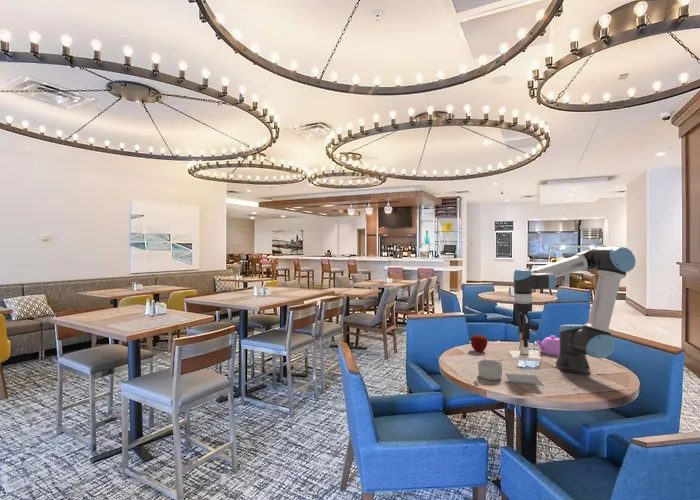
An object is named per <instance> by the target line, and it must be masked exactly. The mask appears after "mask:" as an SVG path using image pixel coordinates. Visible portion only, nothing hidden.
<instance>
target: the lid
mask: <svg viewBox="0 0 700 500" xmlns="http://www.w3.org/2000/svg"><path fill="white" fill-rule="evenodd" d="M521 339H522V332H520V336H519V350H508V351H507V353H508V355H509V356H510V358H511V359H512V360H513V361H523V362H524V361H525V362H526V361H527V362H543V358H542V357H541V356H540V355H539V353H537V352H536V351H535V350H534V351H532V350H529V354H522V340H521Z"/></svg>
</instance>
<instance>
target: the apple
mask: <svg viewBox="0 0 700 500" xmlns="http://www.w3.org/2000/svg"><path fill="white" fill-rule="evenodd" d="M470 344H471V347H472V349H473V350H474V351H475V352H479V353H482V352H484V351H485V350H486V348H487V346H488V338H487V337H486V336H485V335H481V334H473V335H471V337H470Z"/></svg>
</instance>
